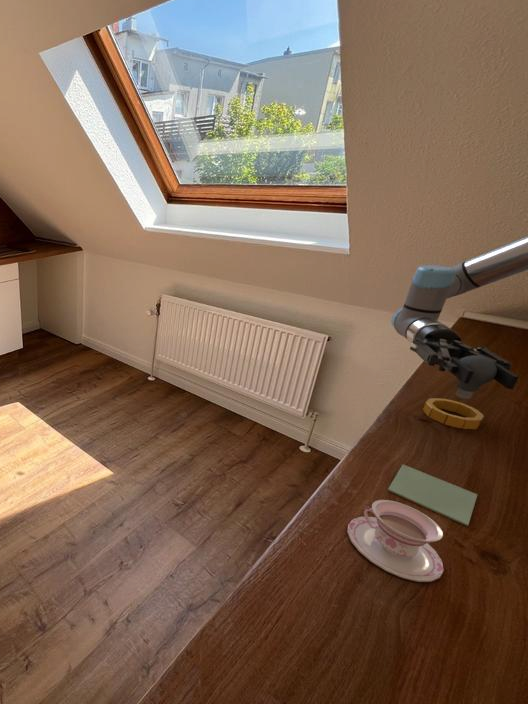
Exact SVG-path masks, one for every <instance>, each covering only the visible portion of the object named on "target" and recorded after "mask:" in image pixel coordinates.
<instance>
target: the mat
mask: <svg viewBox="0 0 528 704" xmlns="http://www.w3.org/2000/svg"><path fill="white" fill-rule="evenodd" d="M387 491H388V492H390V493H393V494H394V495H397V496H399V497H401V498H402V499H405V500H408V501H411V502H412V503H414V504H416V505H418V506H421V507H423V508H425V509H428V510H430V511H432V512H433V513H434V512H435V513H436V514H439V515H441V516H443V517H445V518H448V519H450V520H452V521H454V522H457V523H459V524H460V525H463V526H465V527H469V524H470V521H471V518H472V514H473V510H474V509H475V504H476V502H477V498H478V493H475V492H472V491H470V490H468V489H465V488H463V487H460V486H458V485H455V484H453V483H450V482H448V481H445V480H443V479H440V478H438V477H435V476H433V475H430V474H428V473H427V472H426V473H425V472H423V471H421V470H418V469H415V468H413V467H410V466H409V465H405V464H401V467H400V468H399V470H398V471H397V473H396V475H395V476H394V478H393V480H392V481H391V483H390V484H389V486H388V488H387Z"/></svg>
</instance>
